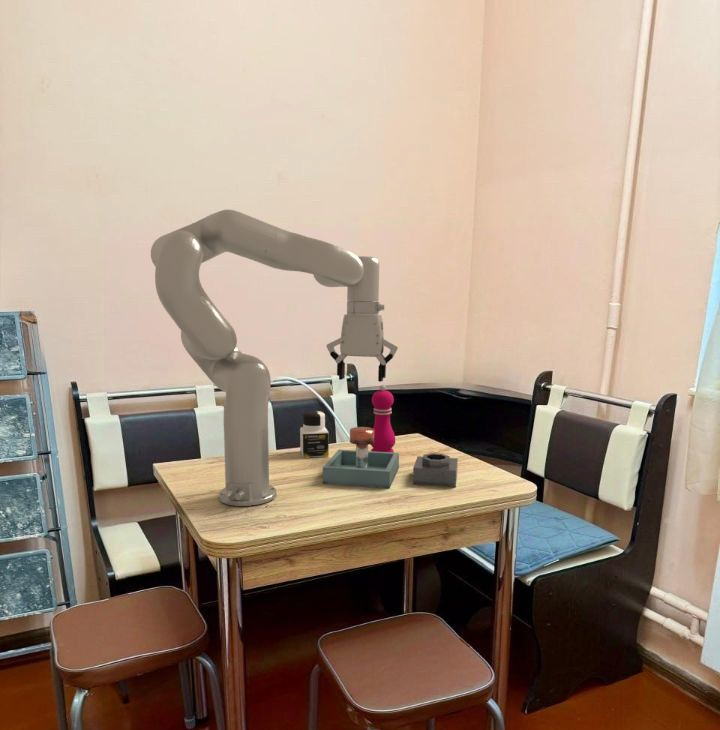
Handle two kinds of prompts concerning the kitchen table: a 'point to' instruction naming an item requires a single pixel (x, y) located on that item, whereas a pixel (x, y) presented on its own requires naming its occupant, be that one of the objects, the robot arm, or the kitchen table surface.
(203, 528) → the kitchen table surface
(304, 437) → the medicine bottle
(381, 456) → the tray
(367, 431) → the rounded copper knob
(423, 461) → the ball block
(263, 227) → the robot arm
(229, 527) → the kitchen table surface
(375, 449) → the pepper mill
